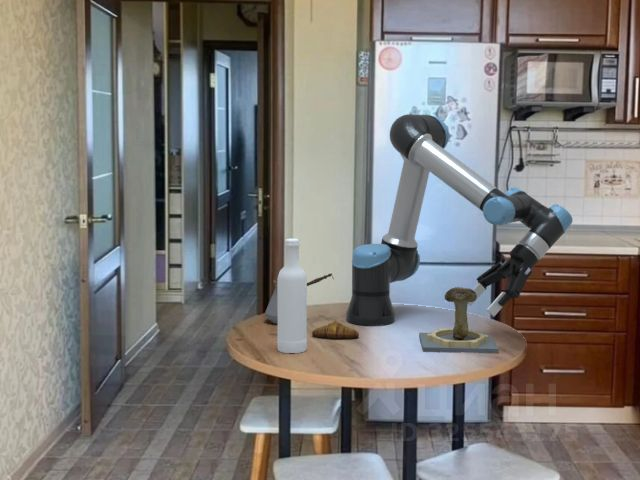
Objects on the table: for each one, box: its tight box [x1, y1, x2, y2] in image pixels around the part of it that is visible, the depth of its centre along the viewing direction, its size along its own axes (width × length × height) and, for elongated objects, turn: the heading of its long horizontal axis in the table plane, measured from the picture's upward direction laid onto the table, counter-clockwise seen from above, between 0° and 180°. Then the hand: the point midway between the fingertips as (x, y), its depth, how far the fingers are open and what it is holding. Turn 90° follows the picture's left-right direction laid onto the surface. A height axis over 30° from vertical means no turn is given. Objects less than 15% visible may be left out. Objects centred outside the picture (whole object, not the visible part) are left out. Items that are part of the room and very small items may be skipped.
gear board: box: [418, 328, 500, 354], centre depth 217 cm, size 20×16×3 cm
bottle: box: [276, 238, 308, 354], centre depth 209 cm, size 8×8×30 cm
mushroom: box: [444, 286, 477, 341], centre depth 215 cm, size 9×9×15 cm
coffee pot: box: [264, 273, 335, 325], centre depth 243 cm, size 21×12×15 cm, turn 95°
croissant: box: [311, 320, 360, 340], centre depth 224 cm, size 14×7×5 cm, turn 83°
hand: (478, 307), depth 217 cm, fingers open, 13 cm apart
